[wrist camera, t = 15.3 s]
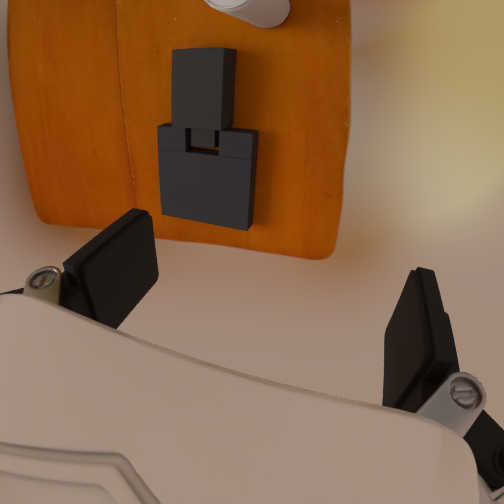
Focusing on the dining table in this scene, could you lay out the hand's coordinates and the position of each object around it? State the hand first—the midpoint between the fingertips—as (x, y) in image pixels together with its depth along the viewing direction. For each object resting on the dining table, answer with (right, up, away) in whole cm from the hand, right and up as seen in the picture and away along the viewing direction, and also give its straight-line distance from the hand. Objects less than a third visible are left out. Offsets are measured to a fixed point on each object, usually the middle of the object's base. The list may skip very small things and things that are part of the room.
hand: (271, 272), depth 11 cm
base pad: (-6, +10, +28) cm, 31 cm away
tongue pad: (-6, +18, +23) cm, 30 cm away
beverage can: (+1, +26, +16) cm, 31 cm away
